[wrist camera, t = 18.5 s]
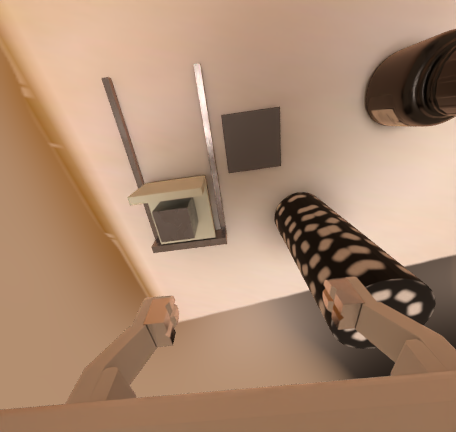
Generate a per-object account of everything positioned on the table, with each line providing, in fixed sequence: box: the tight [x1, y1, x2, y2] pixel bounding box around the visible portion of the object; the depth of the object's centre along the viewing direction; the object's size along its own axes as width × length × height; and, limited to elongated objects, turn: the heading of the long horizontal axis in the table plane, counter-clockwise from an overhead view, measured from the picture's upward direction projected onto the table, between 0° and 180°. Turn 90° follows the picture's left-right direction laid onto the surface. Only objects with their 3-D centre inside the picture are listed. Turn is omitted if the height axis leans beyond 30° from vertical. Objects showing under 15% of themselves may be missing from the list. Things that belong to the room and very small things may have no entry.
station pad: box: [221, 107, 281, 173], centre depth 29 cm, size 8×8×1 cm
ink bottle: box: [366, 29, 456, 126], centre depth 22 cm, size 10×9×12 cm
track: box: [102, 63, 227, 253], centre depth 29 cm, size 25×12×3 cm, turn 8°
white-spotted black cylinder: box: [275, 192, 435, 349], centre depth 26 cm, size 8×8×20 cm
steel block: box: [152, 197, 199, 242], centre depth 28 cm, size 4×4×5 cm
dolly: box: [128, 175, 216, 244], centre depth 30 cm, size 10×9×8 cm
